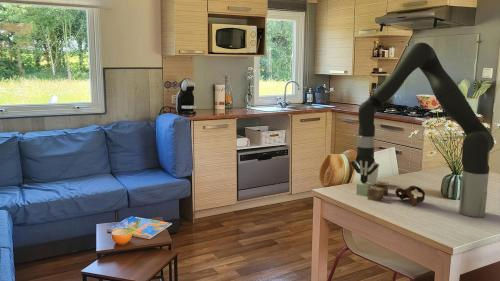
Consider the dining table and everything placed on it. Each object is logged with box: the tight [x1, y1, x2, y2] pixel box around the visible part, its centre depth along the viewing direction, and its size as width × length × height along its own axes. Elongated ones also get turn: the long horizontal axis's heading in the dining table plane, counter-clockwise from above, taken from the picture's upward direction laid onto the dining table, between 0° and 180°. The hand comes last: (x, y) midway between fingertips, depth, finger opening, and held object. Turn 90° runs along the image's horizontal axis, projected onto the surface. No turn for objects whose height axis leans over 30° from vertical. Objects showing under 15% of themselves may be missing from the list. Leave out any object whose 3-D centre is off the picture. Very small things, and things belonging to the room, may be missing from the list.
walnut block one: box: [375, 180, 389, 197], centre depth 203 cm, size 5×5×5 cm
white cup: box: [367, 162, 380, 186], centre depth 220 cm, size 8×8×10 cm
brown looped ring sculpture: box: [394, 185, 426, 207], centre depth 190 cm, size 12×10×8 cm
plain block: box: [355, 181, 372, 197], centre depth 203 cm, size 5×5×5 cm
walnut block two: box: [367, 185, 385, 202], centre depth 195 cm, size 5×5×5 cm
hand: (363, 182), depth 202 cm, fingers closed
